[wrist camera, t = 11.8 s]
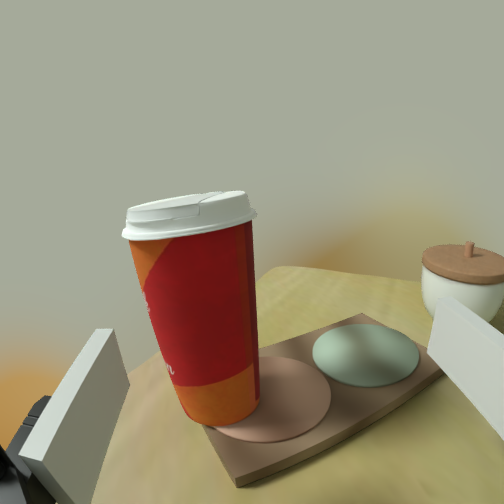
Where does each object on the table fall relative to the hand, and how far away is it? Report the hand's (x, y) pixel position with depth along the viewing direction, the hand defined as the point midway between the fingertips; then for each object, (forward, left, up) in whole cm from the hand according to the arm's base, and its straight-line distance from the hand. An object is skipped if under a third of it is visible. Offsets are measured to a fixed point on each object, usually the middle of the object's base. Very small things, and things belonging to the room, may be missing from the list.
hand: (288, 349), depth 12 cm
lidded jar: (-27, -6, -11) cm, 29 cm away
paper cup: (+1, -8, -9) cm, 12 cm away
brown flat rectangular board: (-8, -8, -11) cm, 15 cm away
